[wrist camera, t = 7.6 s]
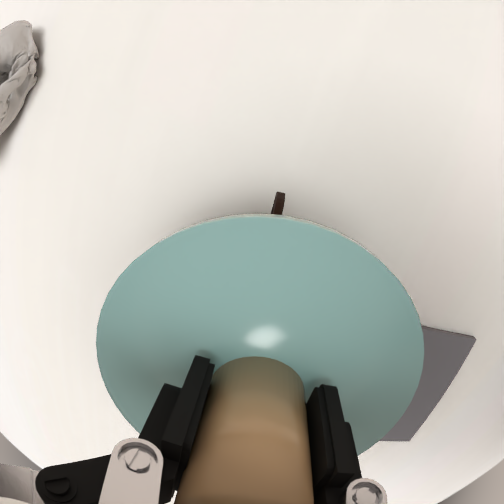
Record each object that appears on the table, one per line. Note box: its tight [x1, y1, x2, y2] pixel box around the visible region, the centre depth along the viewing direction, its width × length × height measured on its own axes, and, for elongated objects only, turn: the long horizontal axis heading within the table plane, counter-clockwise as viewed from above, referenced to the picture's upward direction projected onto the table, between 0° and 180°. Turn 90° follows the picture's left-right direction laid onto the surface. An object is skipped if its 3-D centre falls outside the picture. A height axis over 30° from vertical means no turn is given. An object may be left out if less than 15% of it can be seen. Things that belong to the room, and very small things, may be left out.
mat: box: [379, 326, 476, 441], centre depth 25 cm, size 14×14×1 cm
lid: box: [96, 213, 424, 504], centre depth 9 cm, size 13×13×6 cm
